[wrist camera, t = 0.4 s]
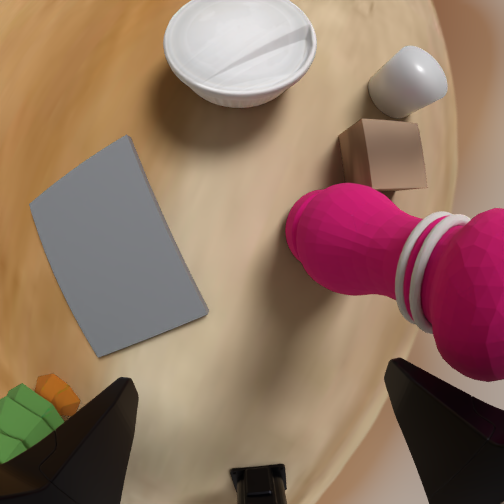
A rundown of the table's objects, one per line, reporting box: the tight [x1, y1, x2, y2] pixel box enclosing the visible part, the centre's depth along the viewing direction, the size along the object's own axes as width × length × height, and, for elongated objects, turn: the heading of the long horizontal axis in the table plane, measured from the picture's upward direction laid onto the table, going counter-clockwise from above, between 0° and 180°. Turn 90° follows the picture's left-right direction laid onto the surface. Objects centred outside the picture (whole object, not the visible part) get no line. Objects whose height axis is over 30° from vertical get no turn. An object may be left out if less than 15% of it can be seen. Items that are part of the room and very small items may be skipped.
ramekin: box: [163, 0, 317, 108], centre depth 18 cm, size 11×11×5 cm
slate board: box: [29, 135, 209, 357], centre depth 21 cm, size 16×12×1 cm
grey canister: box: [368, 46, 447, 118], centre depth 18 cm, size 5×5×6 cm
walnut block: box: [339, 119, 428, 192], centre depth 19 cm, size 5×5×5 cm
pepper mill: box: [285, 183, 504, 382], centre depth 12 cm, size 7×7×20 cm
